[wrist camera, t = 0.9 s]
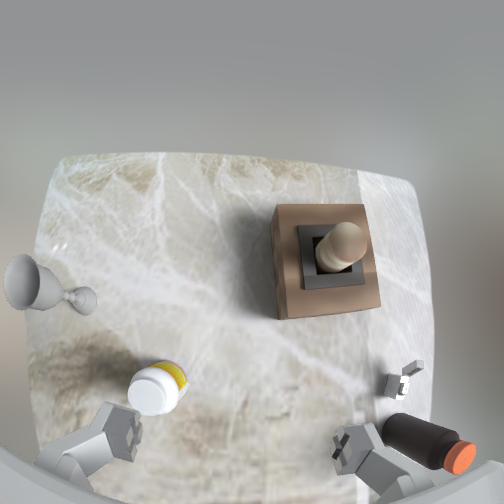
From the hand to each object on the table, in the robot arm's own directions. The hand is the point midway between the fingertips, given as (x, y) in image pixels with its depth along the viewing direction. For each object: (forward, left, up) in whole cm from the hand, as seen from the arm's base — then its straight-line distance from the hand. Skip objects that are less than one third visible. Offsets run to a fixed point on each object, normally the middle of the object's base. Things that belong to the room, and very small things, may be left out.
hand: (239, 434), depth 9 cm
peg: (+13, -14, -28) cm, 34 cm away
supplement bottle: (-4, +11, -34) cm, 36 cm away
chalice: (+9, +26, -34) cm, 44 cm away
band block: (+13, -14, -34) cm, 39 cm away
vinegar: (-19, -28, -34) cm, 48 cm away
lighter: (-8, -27, -34) cm, 44 cm away
